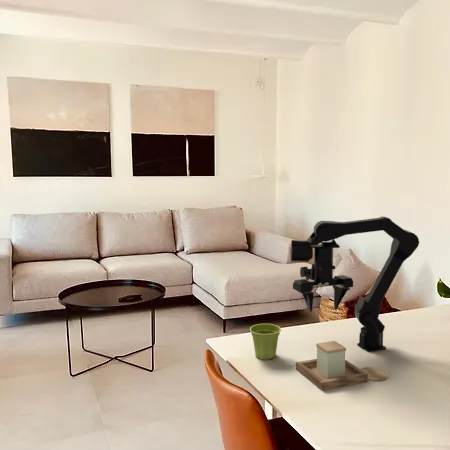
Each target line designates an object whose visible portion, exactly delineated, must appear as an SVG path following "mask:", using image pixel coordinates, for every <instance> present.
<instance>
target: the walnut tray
mask: <svg viewBox="0 0 450 450" xmlns="http://www.w3.org/2000/svg"><path fill="white" fill-rule="evenodd" d="M295 370H296V371H297V372H299V373H300V374H301V375H302V376H303V377H304V378H306V379H307V380H308V381H309V382H311V383H312V384H313V385H314V386H315V387H317V388H318V389H320V390H321V391H326V390H327V391H328V390H332V389H336V388H342V387H347V386H352V385H357V384H361V383H362V384H363V383H368V381H369V380H368V374H367V373H365V372H364V371H362V370H361V368H359V367H358V366H356V365H354V364H353V363H351V362H350V361H349V360H347V359H345V376H339V377H334V378H328V379H327V378H326V377H324V376H323V375H322V374H321V373H319V372H318V371H317V358H314V359H312V358H311V359H307V360H302V361H301V360H300V361H296V362H295Z"/></svg>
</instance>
